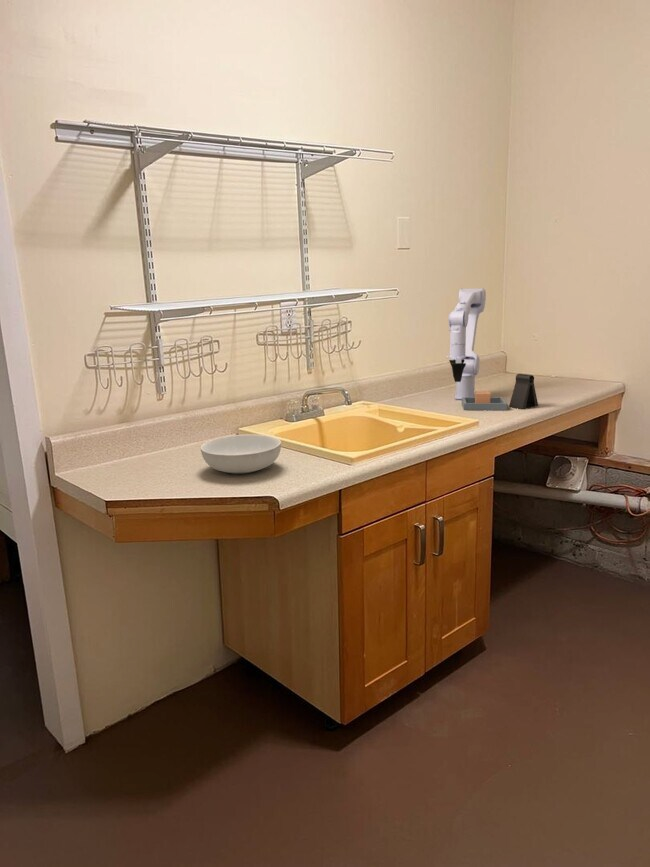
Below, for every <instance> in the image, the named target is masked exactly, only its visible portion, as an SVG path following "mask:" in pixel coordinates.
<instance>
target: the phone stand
mask: <svg viewBox="0 0 650 867" xmlns="http://www.w3.org/2000/svg"><path fill="white" fill-rule="evenodd" d="M538 403H539V402H538V396H537V392H536V386H535V375H533V374H526V373H517V374H516V375H515V383H514V386H513V390H512V394H511V398H510V402H509V405H508V407H509V408H511V407H512V409H517V408H518V409H517V410H522V409H523V410H527V409H526V408H528V409H532V408H531V407H533V408H536V407H535V406H538V407H539V404H538Z"/></svg>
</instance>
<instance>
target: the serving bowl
mask: <svg viewBox="0 0 650 867" xmlns="http://www.w3.org/2000/svg"><path fill="white" fill-rule="evenodd" d="M281 447H282V441H281V439H279V438H277V437H275V436H273V435H268V434H267V435H265V434H255V433H254V434H233V435H225V436H222V437H218V438H214V439H211V440H207V441H206V442H204V443H202V444H201V446H200V447H199V448H200V452H201V455H202V458H203V460H204V462H205V463H206V464H207V465H208V466H209V467H211V468H212V469H215V470H216V471H220V472H222V473H228V474H250V473H254V472H256V471H260V470H264V469H265V468H268V467H269V466H271V465H272V464H273V463H274V462H275V461H276V460H277V459H278V458H279V456H280V453H281Z"/></svg>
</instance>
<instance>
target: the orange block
mask: <svg viewBox="0 0 650 867" xmlns="http://www.w3.org/2000/svg"><path fill="white" fill-rule="evenodd" d="M474 395H475V403H490V397H491V392H490V391H487V390H486V391H474Z"/></svg>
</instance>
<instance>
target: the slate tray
mask: <svg viewBox="0 0 650 867" xmlns="http://www.w3.org/2000/svg"><path fill="white" fill-rule="evenodd" d="M461 406H462V409H463V411H464V410H467V411H468V412H469V411H474V412H475V411H477V412H478V411H479V412H480V411H484V410H486V411H488V410H489V411H492V412H493V411H501V412H502V411H504V410H505V411H506V410H507V409H508V408H507V406H508V404H507V402H506V400H505V399H504V397H502V396H498V397H497V396H490V403H475V397H462V399H461Z"/></svg>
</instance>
